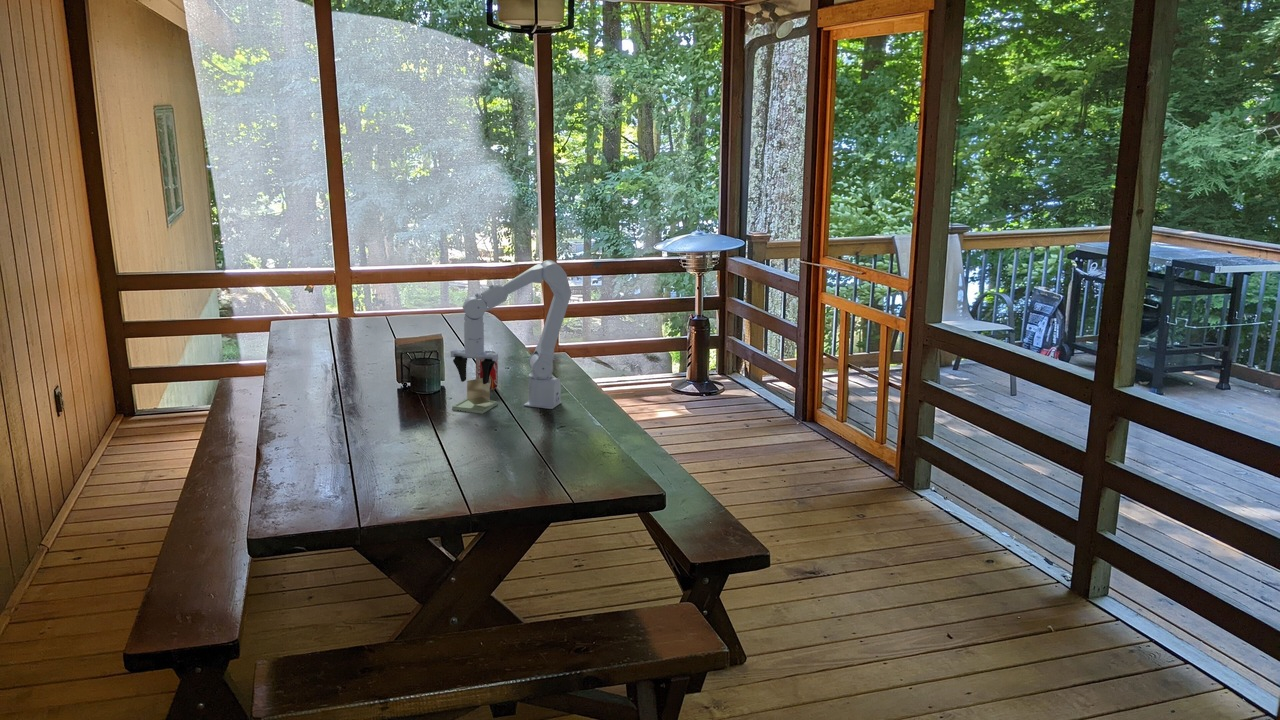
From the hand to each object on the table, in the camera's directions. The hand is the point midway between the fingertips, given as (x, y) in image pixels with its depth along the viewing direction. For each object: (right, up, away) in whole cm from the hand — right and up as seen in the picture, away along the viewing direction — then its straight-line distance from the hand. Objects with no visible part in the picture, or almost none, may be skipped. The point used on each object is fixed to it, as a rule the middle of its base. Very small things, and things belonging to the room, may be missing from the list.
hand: (474, 382), depth 279 cm
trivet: (0, -8, +2) cm, 8 cm away
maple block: (+1, -6, -1) cm, 6 cm away
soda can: (0, -3, +23) cm, 23 cm away
